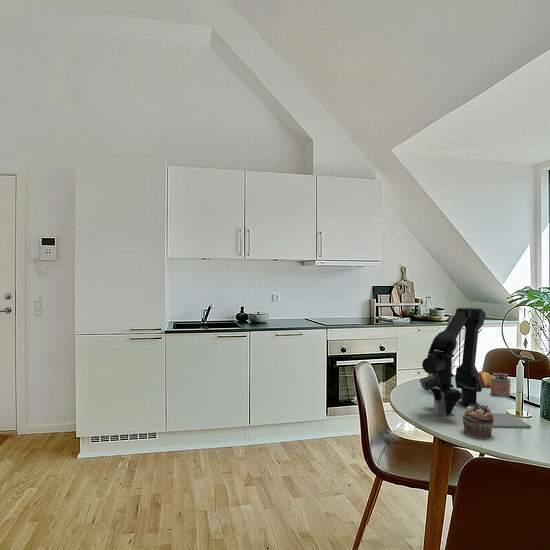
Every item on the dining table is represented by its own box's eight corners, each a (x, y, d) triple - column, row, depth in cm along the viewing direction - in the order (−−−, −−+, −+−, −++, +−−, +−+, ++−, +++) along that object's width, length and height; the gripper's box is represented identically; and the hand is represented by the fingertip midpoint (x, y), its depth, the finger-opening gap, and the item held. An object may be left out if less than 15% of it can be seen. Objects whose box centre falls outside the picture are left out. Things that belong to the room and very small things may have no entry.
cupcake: (497, 433, 144) (497, 403, 144) (488, 441, 137) (489, 410, 137) (467, 426, 150) (467, 397, 150) (457, 433, 143) (458, 403, 143)
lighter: (508, 395, 190) (508, 372, 190) (511, 397, 187) (512, 374, 187) (489, 394, 191) (489, 372, 191) (492, 396, 188) (492, 373, 188)
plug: (433, 413, 164) (434, 400, 164) (452, 413, 164) (452, 400, 164) (437, 416, 161) (437, 402, 161) (456, 416, 161) (456, 403, 161)
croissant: (510, 395, 203) (511, 378, 206) (510, 389, 195) (511, 372, 199) (462, 387, 214) (464, 371, 217) (460, 381, 207) (461, 365, 210)
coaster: (476, 415, 162) (476, 413, 162) (510, 415, 162) (510, 413, 162) (493, 427, 149) (494, 425, 149) (531, 428, 149) (531, 425, 149)
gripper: (414, 364, 172) (413, 403, 172) (431, 375, 153) (430, 419, 153) (441, 364, 172) (441, 403, 172) (462, 376, 153) (461, 419, 153)
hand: (442, 411), depth 162 cm, fingers open, 9 cm apart
